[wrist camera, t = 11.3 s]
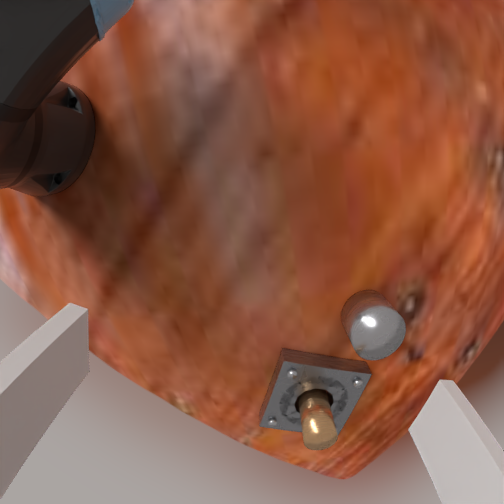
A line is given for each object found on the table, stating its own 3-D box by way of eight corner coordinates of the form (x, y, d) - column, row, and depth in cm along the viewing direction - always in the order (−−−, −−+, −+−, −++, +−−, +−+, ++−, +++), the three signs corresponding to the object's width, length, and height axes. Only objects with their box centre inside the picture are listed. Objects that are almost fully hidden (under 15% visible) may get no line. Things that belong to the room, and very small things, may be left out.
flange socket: (259, 412, 43) (259, 429, 39) (282, 348, 40) (284, 363, 36) (334, 422, 43) (338, 438, 40) (365, 361, 40) (372, 376, 37)
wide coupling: (334, 330, 39) (344, 356, 33) (350, 285, 37) (365, 305, 31) (377, 338, 39) (392, 363, 33) (395, 295, 37) (414, 315, 32)
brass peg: (291, 386, 41) (297, 437, 32) (317, 374, 41) (329, 424, 31) (304, 403, 42) (312, 454, 32) (329, 391, 41) (342, 441, 32)
